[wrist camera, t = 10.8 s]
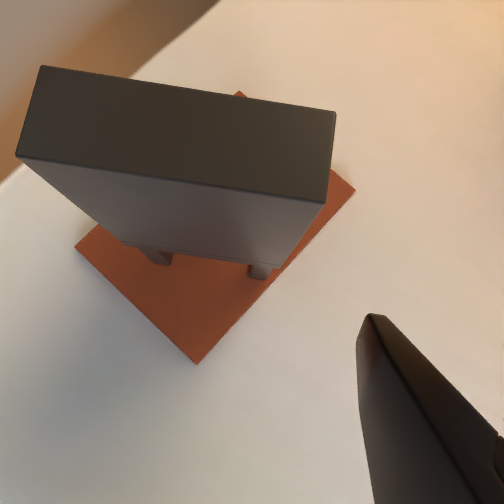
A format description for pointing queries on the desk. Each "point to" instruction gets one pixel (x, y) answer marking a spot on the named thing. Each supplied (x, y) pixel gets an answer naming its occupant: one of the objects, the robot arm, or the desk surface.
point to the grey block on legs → (181, 165)
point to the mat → (193, 281)
